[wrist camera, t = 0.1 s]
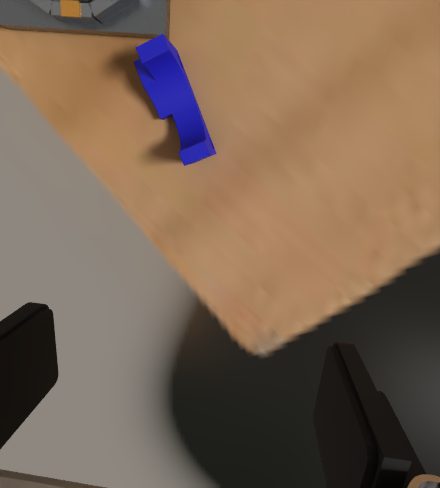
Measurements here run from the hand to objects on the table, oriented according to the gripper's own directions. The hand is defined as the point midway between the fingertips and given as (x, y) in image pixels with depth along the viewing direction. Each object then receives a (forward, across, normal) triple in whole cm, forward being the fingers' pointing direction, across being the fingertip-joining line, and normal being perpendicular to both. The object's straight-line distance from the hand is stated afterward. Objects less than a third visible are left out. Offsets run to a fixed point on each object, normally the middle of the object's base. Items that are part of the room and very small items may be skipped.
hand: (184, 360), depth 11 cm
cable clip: (+32, +8, -10) cm, 34 cm away
